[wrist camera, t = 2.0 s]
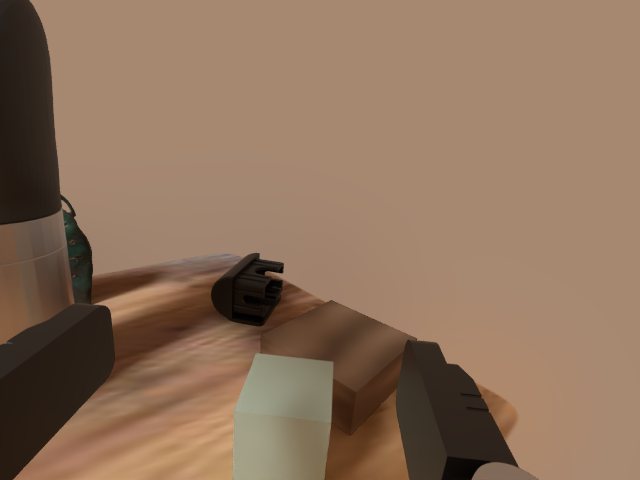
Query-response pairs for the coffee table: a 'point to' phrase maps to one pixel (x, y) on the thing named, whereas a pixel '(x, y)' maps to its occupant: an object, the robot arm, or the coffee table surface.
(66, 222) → the green animal figurine
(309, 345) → the walnut box
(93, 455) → the coffee table surface
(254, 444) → the tall sage green block
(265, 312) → the end cap
